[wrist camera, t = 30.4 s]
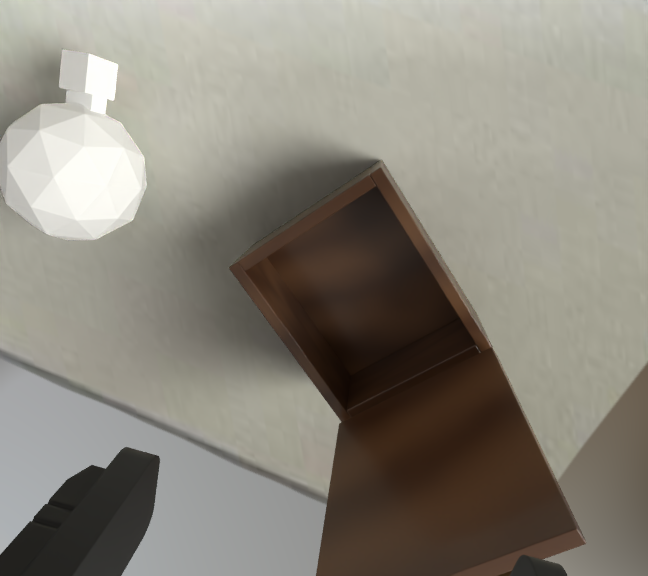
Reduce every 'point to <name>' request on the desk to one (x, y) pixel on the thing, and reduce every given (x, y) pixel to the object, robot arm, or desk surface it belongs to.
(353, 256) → the storage box
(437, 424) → the box lid
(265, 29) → the desk surface
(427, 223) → the desk surface
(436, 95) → the desk surface
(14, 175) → the perfume bottle
